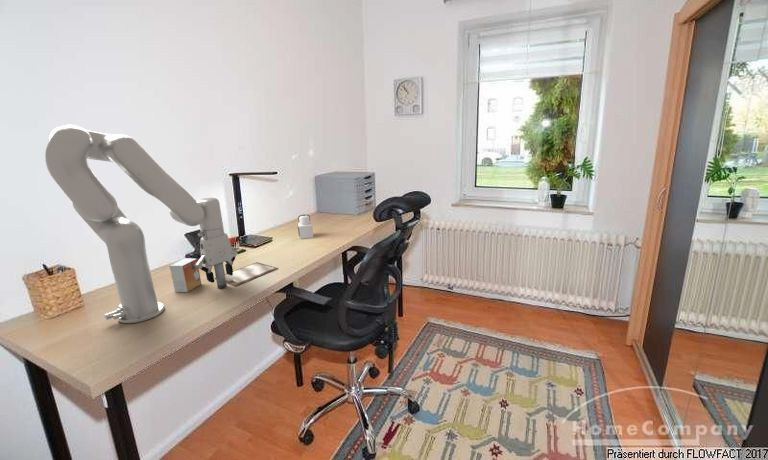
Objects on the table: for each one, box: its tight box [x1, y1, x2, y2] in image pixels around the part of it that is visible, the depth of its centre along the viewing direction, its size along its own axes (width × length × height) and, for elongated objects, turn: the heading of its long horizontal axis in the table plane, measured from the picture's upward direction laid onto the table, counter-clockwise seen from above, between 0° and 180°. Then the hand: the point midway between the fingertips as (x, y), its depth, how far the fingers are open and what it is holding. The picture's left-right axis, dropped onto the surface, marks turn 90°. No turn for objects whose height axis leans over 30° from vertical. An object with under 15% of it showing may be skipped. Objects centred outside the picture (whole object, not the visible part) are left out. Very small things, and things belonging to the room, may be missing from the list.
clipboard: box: [214, 261, 279, 287], centre depth 149 cm, size 20×14×1 cm
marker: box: [213, 262, 228, 290], centre depth 136 cm, size 3×3×13 cm
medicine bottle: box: [297, 214, 314, 240], centre depth 195 cm, size 7×7×12 cm
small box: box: [169, 257, 202, 293], centre depth 137 cm, size 8×6×10 cm
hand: (220, 277), depth 136 cm, fingers open, 6 cm apart
